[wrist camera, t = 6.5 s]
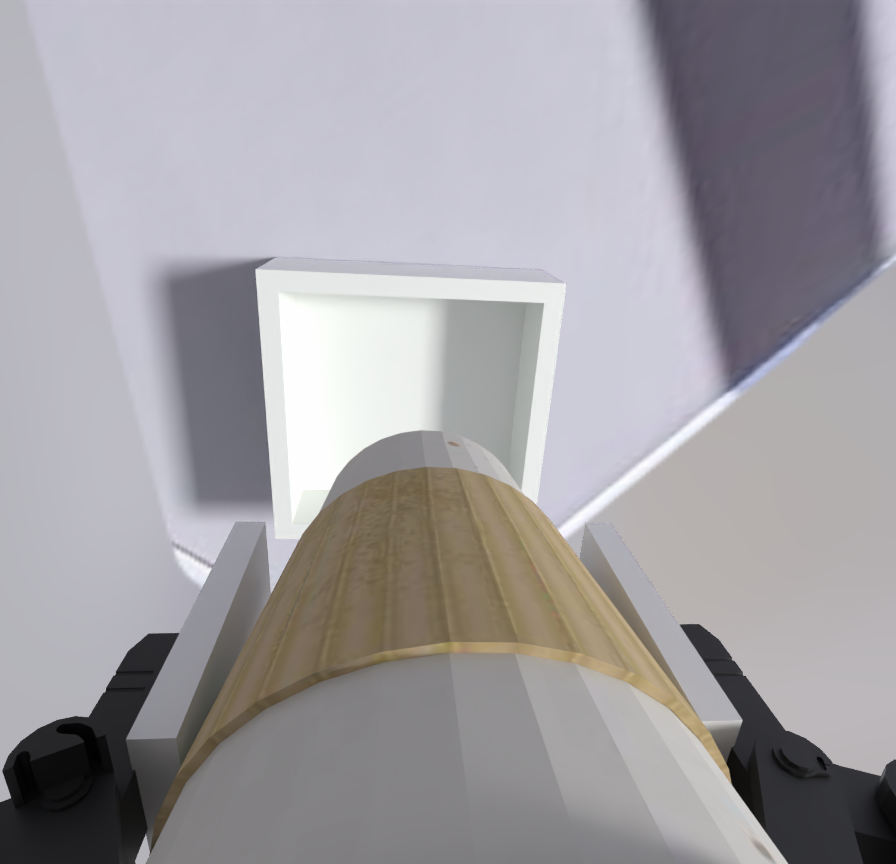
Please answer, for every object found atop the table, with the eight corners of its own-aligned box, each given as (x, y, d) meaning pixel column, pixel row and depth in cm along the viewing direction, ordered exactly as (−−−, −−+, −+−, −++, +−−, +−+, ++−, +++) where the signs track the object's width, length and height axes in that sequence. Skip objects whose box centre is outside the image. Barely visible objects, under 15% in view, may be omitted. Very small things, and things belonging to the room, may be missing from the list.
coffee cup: (254, 630, 19) (-129, 1777, 5) (276, 344, 16) (-721, 1516, 2) (535, 654, 20) (826, 1607, 7) (614, 397, 17) (1582, 1274, 3)
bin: (276, 257, 31) (255, 269, 27) (543, 269, 33) (566, 283, 28) (290, 495, 37) (275, 538, 33) (516, 497, 39) (532, 539, 34)
